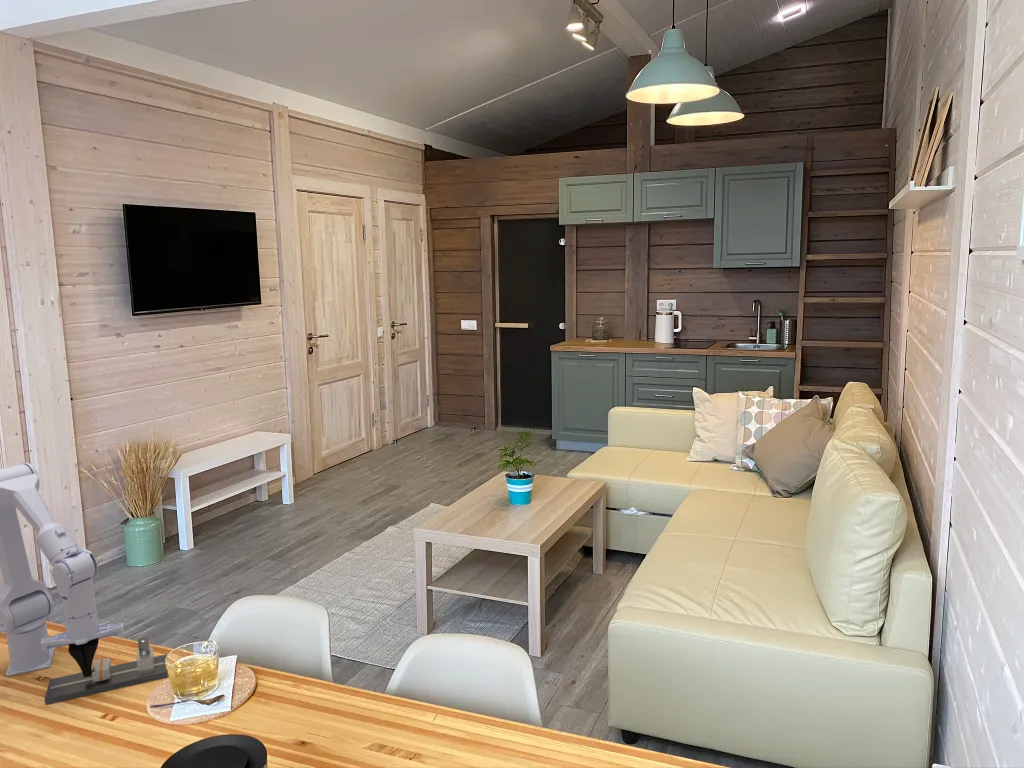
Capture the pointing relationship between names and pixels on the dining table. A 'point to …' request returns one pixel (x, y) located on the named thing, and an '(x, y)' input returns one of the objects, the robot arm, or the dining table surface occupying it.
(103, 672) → the block
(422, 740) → the dining table surface
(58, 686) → the plate
